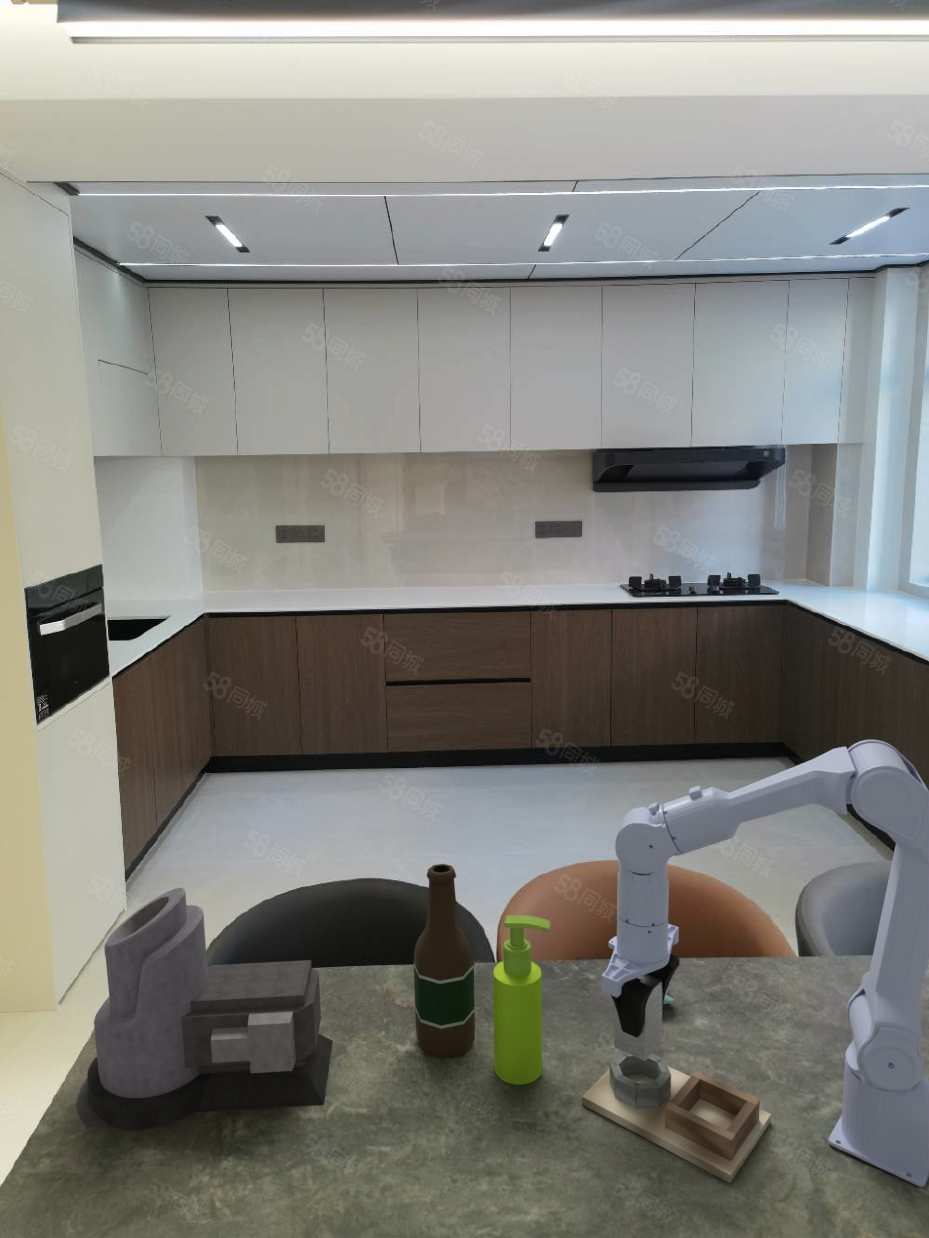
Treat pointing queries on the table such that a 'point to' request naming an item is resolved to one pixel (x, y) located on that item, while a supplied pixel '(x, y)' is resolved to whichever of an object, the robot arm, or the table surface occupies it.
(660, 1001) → the square peg
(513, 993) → the soap dispenser
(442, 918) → the beer bottle
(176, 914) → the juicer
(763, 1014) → the table surface
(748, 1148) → the socket board
